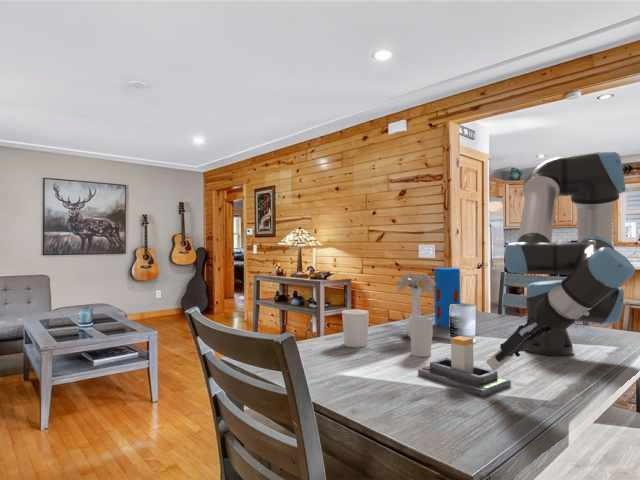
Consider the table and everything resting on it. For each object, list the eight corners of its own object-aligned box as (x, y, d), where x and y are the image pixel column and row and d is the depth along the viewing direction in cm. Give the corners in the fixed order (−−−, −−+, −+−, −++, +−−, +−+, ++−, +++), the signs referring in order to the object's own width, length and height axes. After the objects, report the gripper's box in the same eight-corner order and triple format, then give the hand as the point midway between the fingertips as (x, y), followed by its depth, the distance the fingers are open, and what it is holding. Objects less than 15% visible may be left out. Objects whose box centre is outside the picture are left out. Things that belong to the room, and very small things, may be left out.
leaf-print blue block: (447, 329, 170) (446, 269, 170) (429, 324, 180) (428, 268, 180) (466, 326, 175) (465, 268, 175) (447, 322, 185) (447, 267, 185)
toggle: (451, 373, 108) (450, 337, 108) (460, 370, 111) (460, 335, 111) (464, 377, 105) (463, 340, 105) (473, 373, 107) (473, 338, 107)
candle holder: (338, 346, 144) (338, 313, 144) (347, 340, 153) (346, 308, 153) (365, 349, 140) (364, 314, 140) (372, 342, 149) (371, 310, 149)
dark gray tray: (418, 374, 112) (418, 362, 112) (445, 366, 119) (445, 354, 119) (483, 396, 96) (483, 382, 96) (510, 385, 103) (510, 372, 103)
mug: (423, 358, 128) (423, 320, 128) (406, 354, 133) (405, 318, 133) (441, 352, 134) (440, 316, 134) (424, 348, 139) (423, 314, 139)
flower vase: (440, 333, 162) (439, 271, 162) (424, 343, 146) (423, 274, 146) (409, 330, 169) (408, 270, 169) (390, 339, 154) (390, 273, 154)
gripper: (560, 325, 81) (486, 384, 95) (588, 317, 89) (515, 373, 102) (533, 296, 86) (466, 357, 99) (562, 291, 93) (495, 348, 107)
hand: (491, 365), depth 101 cm, fingers closed
